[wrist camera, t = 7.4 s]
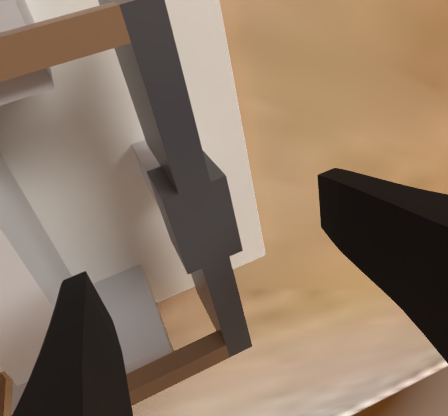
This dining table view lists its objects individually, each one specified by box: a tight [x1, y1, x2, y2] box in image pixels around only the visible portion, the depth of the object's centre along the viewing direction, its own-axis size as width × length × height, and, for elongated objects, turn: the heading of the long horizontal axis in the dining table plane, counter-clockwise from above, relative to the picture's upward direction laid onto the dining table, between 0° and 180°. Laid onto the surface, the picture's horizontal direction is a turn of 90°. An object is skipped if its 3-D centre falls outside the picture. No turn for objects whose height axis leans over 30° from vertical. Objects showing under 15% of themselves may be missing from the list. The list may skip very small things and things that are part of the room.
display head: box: [0, 0, 266, 416], centre depth 15 cm, size 16×16×6 cm
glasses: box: [0, 0, 252, 416], centre depth 13 cm, size 12×13×4 cm
